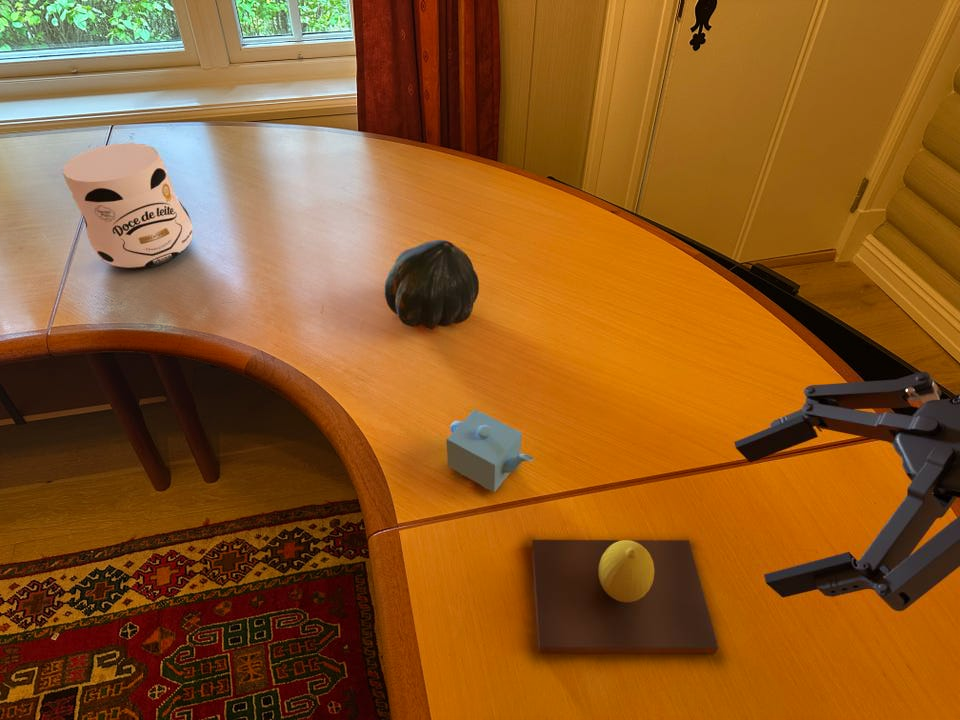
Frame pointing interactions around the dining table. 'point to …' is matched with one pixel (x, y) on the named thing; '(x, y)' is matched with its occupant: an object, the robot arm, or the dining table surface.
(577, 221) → the dining table surface
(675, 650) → the cutting board
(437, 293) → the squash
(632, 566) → the lemon
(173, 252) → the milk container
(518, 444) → the knobbed blue-grey cube
